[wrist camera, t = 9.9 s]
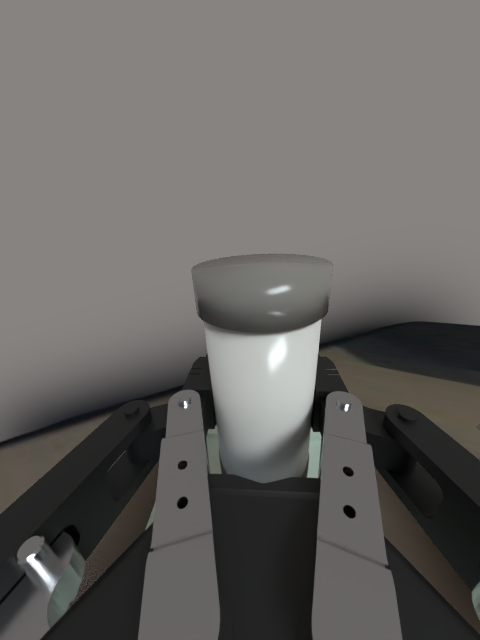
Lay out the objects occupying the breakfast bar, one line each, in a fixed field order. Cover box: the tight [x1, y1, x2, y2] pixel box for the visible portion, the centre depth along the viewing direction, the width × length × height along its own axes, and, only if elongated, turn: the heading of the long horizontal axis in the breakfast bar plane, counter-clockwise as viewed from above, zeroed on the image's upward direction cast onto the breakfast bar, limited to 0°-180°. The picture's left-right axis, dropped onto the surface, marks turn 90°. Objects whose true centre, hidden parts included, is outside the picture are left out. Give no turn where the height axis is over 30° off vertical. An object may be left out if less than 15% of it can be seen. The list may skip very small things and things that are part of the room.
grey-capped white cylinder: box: [191, 254, 333, 483], centre depth 11 cm, size 5×5×14 cm
